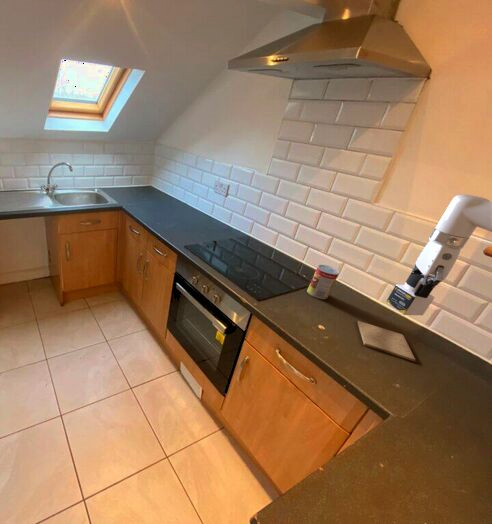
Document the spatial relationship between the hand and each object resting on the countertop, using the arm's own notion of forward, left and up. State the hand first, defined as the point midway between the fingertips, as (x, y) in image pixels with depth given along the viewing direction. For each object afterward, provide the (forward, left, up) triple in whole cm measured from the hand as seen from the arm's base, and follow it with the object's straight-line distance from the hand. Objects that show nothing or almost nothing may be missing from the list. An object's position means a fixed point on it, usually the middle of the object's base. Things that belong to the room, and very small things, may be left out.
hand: (415, 289), depth 94 cm
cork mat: (0, 0, -21) cm, 21 cm away
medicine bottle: (0, 0, -7) cm, 7 cm away
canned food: (+20, -21, -21) cm, 36 cm away
